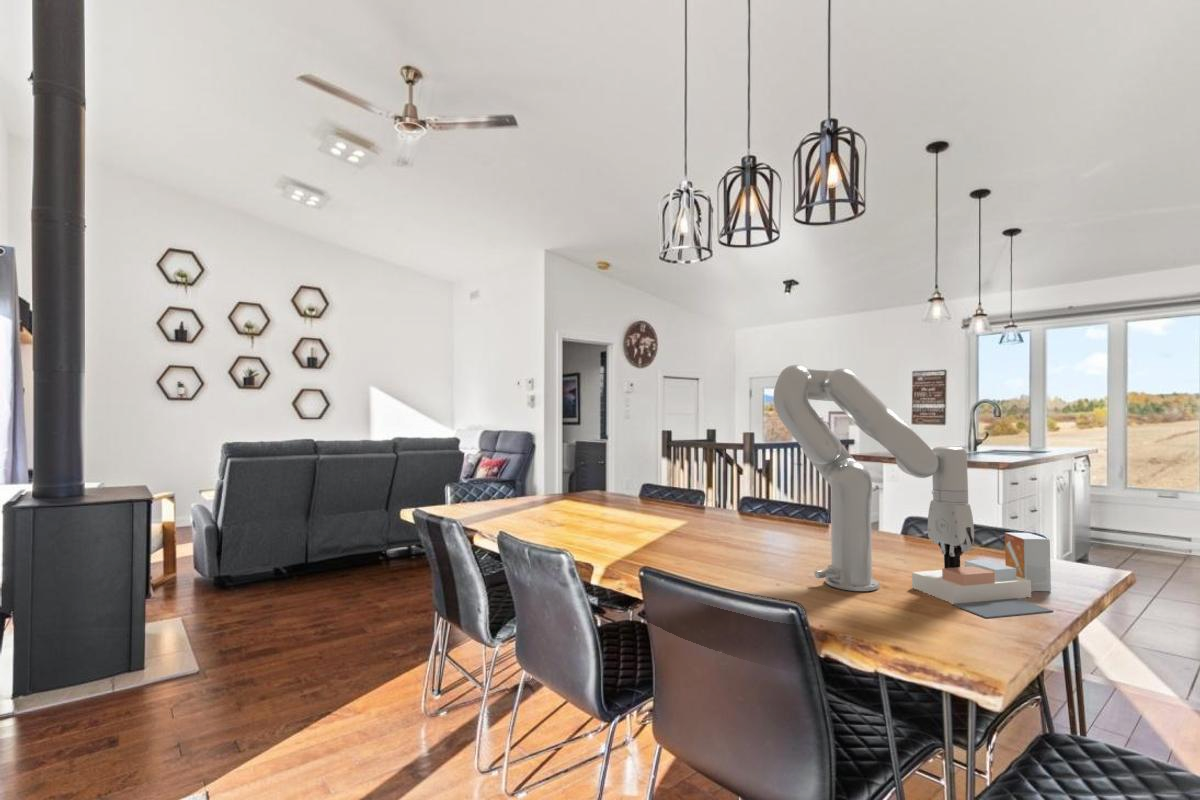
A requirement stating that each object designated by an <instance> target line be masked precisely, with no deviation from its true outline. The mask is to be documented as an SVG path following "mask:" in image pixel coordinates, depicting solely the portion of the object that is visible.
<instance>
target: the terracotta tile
mask: <svg viewBox="0 0 1200 800" xmlns="http://www.w3.org/2000/svg"><path fill="white" fill-rule="evenodd" d="M941 570H942V579H944V580H947V581H950V582H953V583H956V584H959V585H962V586H967V585H979V584H990V583H995V574H994V572H991V571H988V570H984V569H981V568H978V567H974V566H968V567H965V566H960V567H955V568H944V567H942V568H941Z"/></svg>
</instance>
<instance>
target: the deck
mask: <svg viewBox="0 0 1200 800" xmlns="http://www.w3.org/2000/svg"><path fill="white" fill-rule="evenodd" d="M911 587H912V589H913V588H914V590H916V589H917V590H916V591H918V590H919V592H921V591H922V592H921V593H923V594H926V593H927V594H926V595H929V594H930V595H929V596H931V595H932V597H934V596H935V598H937V599H939V598H940V600H942V601H944V600H945V602H947V601H948V602H947V603H950V602H951V603H950V604H952V603H953V604H957V603H968V602H979V601H990V600H1002V599H1013V598H1018V599H1027V598H1026V597H1029V598H1032V591H1031V580H1028V579H1024V578H1021V577H1017V576H1016V579H1007V580H995V583H990V584H979V585H967V586H962V585H959V584H956V583H953V582H950V581H947V580H944V579H942V569H936V570H924V571H912V572H911Z"/></svg>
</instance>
